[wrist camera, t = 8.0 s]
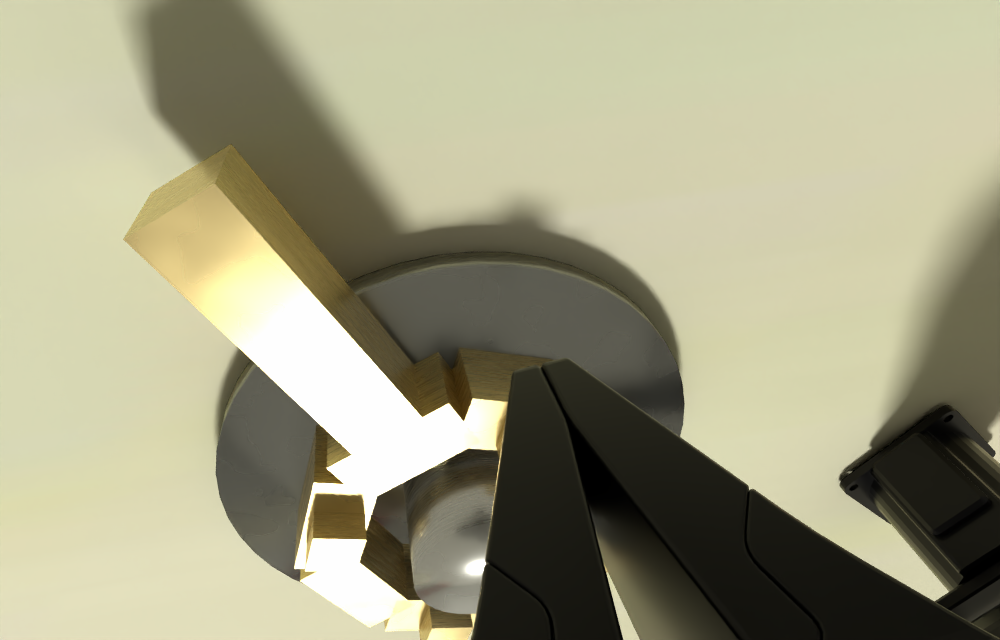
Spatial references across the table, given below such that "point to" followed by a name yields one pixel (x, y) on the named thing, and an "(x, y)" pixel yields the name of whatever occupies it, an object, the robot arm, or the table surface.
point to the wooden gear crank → (327, 380)
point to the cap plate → (444, 328)
